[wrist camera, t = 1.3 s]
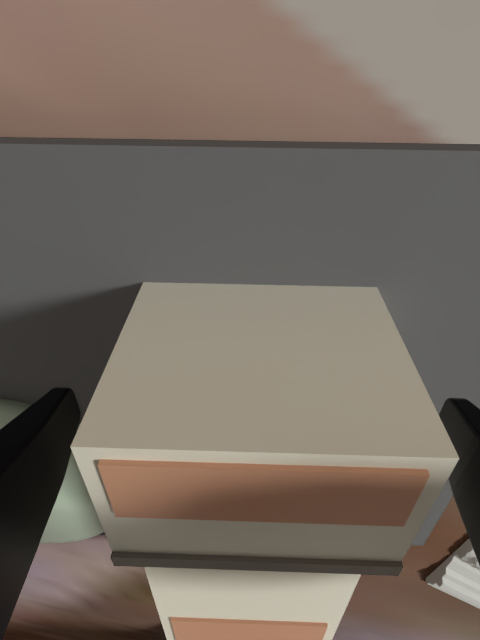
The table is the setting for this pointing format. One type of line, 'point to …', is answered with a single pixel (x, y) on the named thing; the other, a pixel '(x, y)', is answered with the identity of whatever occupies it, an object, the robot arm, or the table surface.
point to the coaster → (63, 495)
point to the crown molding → (459, 575)
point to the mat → (233, 245)
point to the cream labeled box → (249, 603)
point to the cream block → (262, 432)
